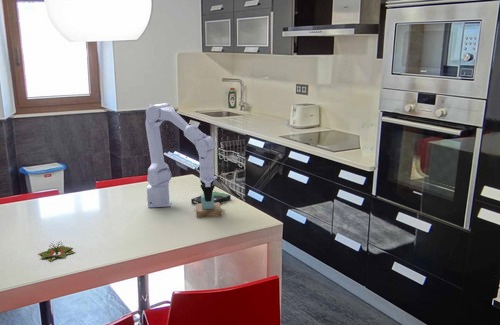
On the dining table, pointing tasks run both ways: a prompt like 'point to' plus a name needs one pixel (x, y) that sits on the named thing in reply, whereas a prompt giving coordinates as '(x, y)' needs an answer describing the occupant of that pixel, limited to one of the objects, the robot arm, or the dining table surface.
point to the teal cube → (207, 204)
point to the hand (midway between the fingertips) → (207, 198)
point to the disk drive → (217, 198)
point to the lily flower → (51, 251)
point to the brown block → (208, 210)
